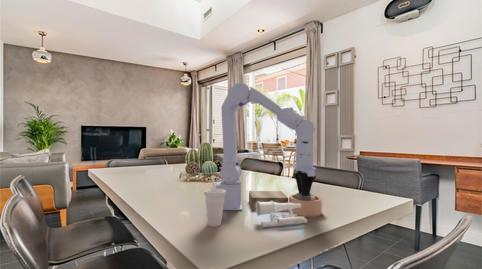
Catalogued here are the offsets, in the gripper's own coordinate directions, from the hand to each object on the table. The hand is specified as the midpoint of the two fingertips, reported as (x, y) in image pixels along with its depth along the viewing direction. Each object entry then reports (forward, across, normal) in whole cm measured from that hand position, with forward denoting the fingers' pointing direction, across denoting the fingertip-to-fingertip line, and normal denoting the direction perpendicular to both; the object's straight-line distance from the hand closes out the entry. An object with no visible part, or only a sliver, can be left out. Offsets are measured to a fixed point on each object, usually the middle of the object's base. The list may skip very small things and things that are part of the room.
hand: (303, 194), depth 84 cm
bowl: (+6, 0, -1) cm, 6 cm away
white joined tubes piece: (+6, -11, +10) cm, 16 cm away
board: (+6, +9, +11) cm, 15 cm away
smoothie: (+6, -12, +30) cm, 33 cm away
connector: (+3, 0, 0) cm, 3 cm away
